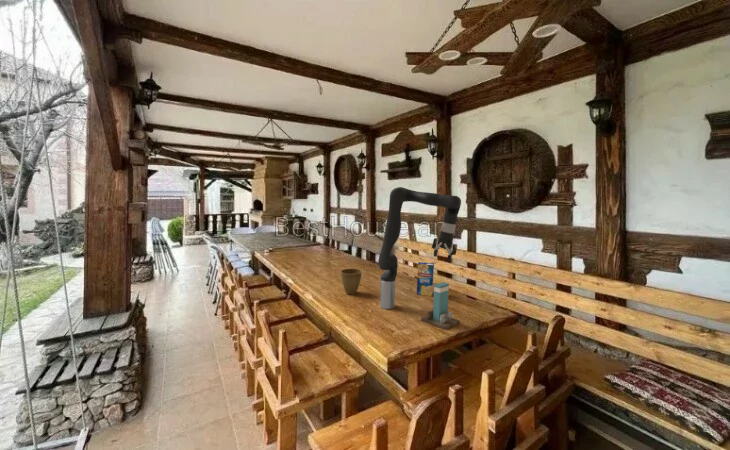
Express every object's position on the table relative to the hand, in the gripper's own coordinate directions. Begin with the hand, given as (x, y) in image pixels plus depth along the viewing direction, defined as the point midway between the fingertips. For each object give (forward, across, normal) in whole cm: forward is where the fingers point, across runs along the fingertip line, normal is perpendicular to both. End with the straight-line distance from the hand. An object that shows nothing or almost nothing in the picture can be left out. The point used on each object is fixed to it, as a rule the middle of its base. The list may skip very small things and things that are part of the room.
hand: (441, 258), depth 178 cm
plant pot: (+45, -62, -4) cm, 76 cm away
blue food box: (+37, -25, +33) cm, 56 cm away
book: (+32, +8, -3) cm, 33 cm away
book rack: (+34, +9, -3) cm, 35 cm away
